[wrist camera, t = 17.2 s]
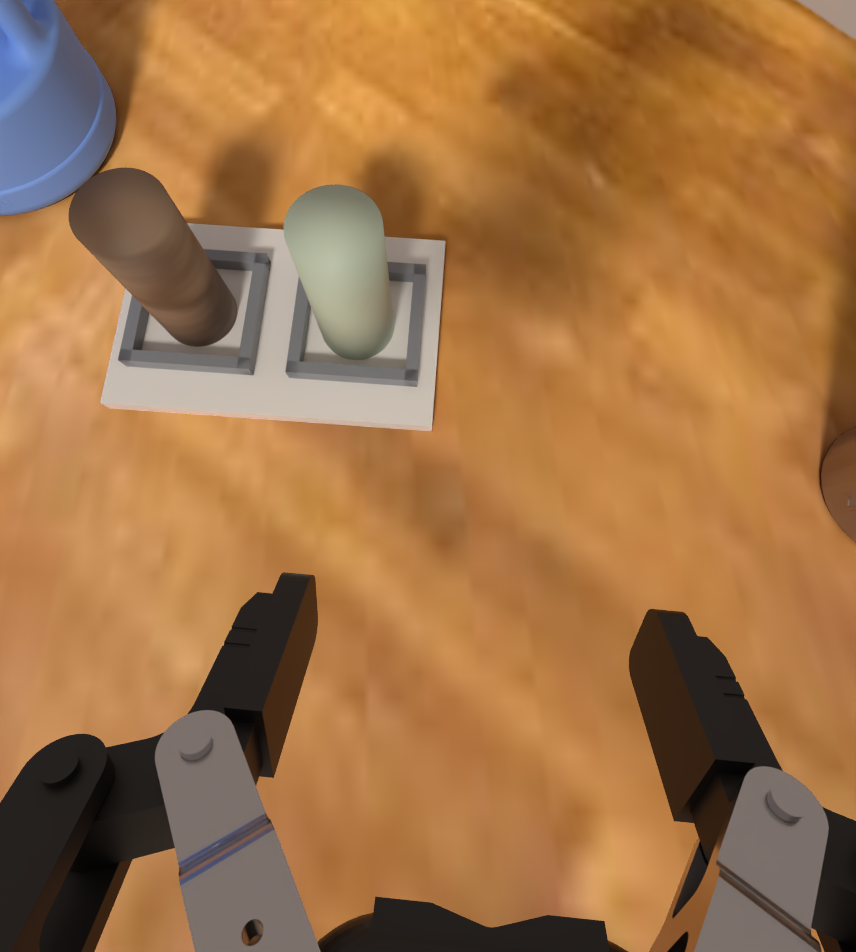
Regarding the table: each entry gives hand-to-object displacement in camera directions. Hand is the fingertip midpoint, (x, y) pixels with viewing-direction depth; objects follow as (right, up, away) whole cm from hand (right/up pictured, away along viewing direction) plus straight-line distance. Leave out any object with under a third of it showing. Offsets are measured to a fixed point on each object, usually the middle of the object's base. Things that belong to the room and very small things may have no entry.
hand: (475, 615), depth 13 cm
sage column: (-6, +14, +23) cm, 28 cm away
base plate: (-11, +14, +24) cm, 30 cm away
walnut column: (-17, +15, +23) cm, 32 cm away
